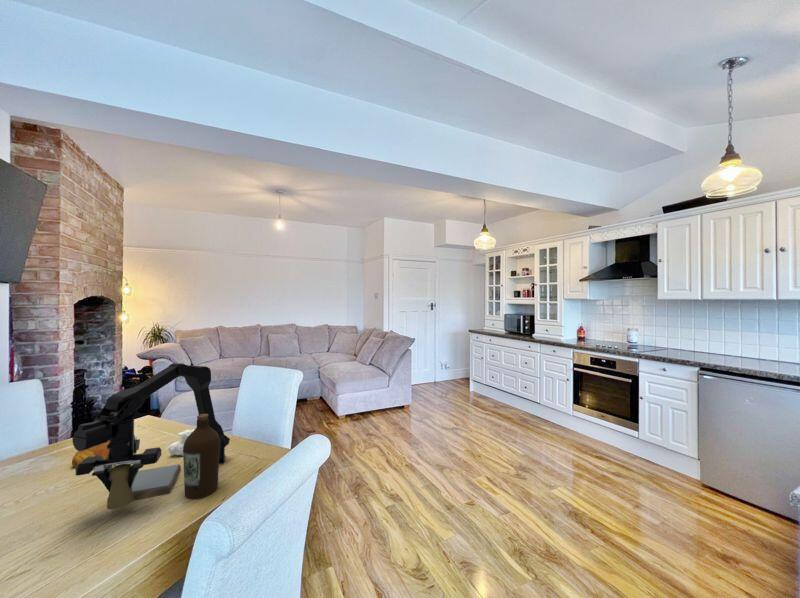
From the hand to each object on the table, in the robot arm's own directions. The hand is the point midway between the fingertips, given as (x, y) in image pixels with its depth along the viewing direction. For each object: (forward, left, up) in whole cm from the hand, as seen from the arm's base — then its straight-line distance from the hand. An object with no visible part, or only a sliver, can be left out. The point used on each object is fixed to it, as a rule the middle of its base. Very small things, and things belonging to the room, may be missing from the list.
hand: (120, 489), depth 96 cm
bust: (-10, -37, -7) cm, 39 cm away
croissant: (+20, -43, -7) cm, 48 cm away
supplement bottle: (+10, -37, -7) cm, 39 cm away
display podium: (-3, -14, -7) cm, 16 cm away
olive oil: (-20, -3, -7) cm, 22 cm away
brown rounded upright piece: (0, 0, -4) cm, 4 cm away
